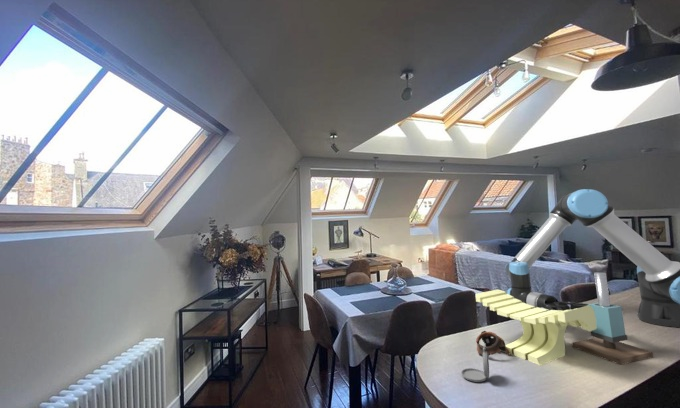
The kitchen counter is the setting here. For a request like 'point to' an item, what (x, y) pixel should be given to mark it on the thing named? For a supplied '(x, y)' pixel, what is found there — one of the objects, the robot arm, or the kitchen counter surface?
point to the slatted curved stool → (538, 325)
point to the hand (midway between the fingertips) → (602, 317)
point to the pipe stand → (604, 348)
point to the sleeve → (609, 320)
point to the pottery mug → (491, 343)
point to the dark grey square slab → (610, 339)
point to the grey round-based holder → (477, 374)
